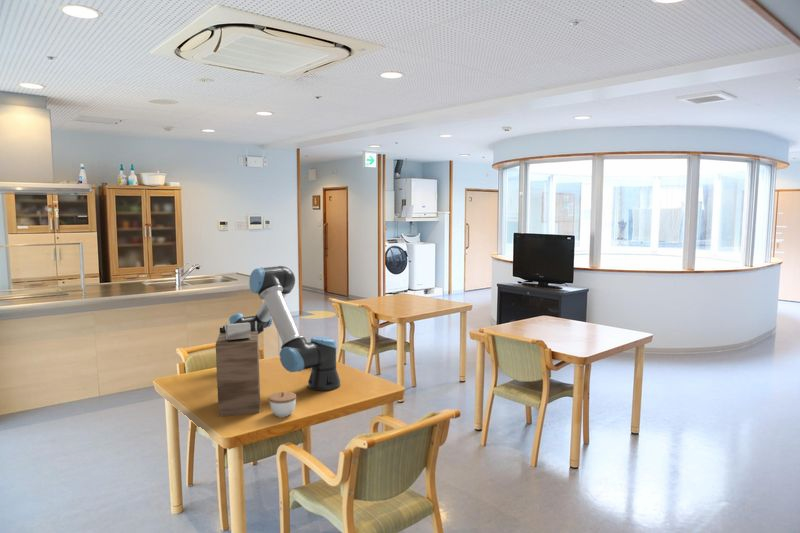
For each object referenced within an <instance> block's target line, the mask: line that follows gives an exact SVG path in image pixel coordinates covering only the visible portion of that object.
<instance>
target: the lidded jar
mask: <svg viewBox="0 0 800 533" xmlns="http://www.w3.org/2000/svg"><path fill="white" fill-rule="evenodd" d="M268 398H269V407H270V410H271V412H272V414H274V416H276V417H277V416H278V417H277V418H285V417H284V416H287V417H289V416H288V415H290V414H292V413H293V412H294V411H295V409H296V404H297V394H296V393H294V392H290V391H281V392H275V393H273V394H271V395H269V397H268ZM290 416H291V415H290Z"/></svg>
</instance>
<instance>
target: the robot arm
mask: <svg viewBox="0 0 800 533" xmlns="http://www.w3.org/2000/svg"><path fill="white" fill-rule="evenodd" d="M295 277H296V276H295V274H294V272H293V271H292V270H291V269H290V268H289V267H287V266H283V265H278V266H269V267H259V268H255V269H253V270H252V271H251V273H250V275H249V282H248V283H249V289H250V291H251V293H254V294H258V297H259V298H260V299H261V300H263V301H264V302H263V303H262V304H261V306H260V308H259V310H258V311H257V313H256V314H255V315H249V316H244V314H243V313H240V312H238V313H237V312H236V313H234V314H232V315H231V316H230V317H229V319H228V321H229V324H237V323H247V322H248V323H250V327H251V332H256V331H258V335H259V334H261V333H263V332H264V329H267V328H269V327H271V326H272V325H273V324H274V326H275V328H276V330H277V333H278V336H279V338H280V341H281V342H282V344H281V347H280V349H281V350H280V352H279V357H280V358H279V360H280V363H281V366H282V367H283V368H284V370H286V371H287V372H289V373H297V372H301V371H304V370H309V369H311V372H310V375H309V378H308V382H307V386H308V388H309V390H312V391H321V392H322V391H331V390H335V389H337V388H339V387H341V379H340V376H339V373H338V369H337V343H336V340H335V339H334V338H331V337H327V336H313V337H311V338H310V342H307V340H306V339H307V338H306V337H305V336H302V335H300V332H299V330H298V328H297V325H296V323H295V321H294V318H293V316H292V314H291V311H290V309H289V307H288V305H287V302H286V300H285V297H286V296H287V295H289V294H290V293H291V292H292V290H293V289H294V287H295V284H296V278H295ZM272 323H273V324H272ZM226 324H228V323H227V321H225V322H224V325H222V327H219V334H220V333H226Z"/></svg>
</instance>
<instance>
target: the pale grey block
mask: <svg viewBox="0 0 800 533" xmlns="http://www.w3.org/2000/svg"><path fill="white" fill-rule="evenodd" d="M243 338H251V327H250V323H248V322H247V323H237V324H230V323H229V324H228V323H227V324H226V339H227V340H233V339H243Z"/></svg>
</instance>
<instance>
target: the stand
mask: <svg viewBox="0 0 800 533" xmlns="http://www.w3.org/2000/svg"><path fill="white" fill-rule="evenodd" d="M218 334H219V335H218V337H217V339H216V341H215V363H216V384H217V385H216V388H217V408H218V410H217V412H218V416H217V417H227V416H238V415H249V414H250V415H252V414H259V413H260V408H261V407H260V405H261V387H260V385H261V384H260V382H261V381H260V360H259V358H260V357H259V356H260V354H259V351H260V350H259V334H258V331H256V332H251V338H243V339H233V340H227V339H226V333H220V332H219V333H218Z"/></svg>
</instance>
